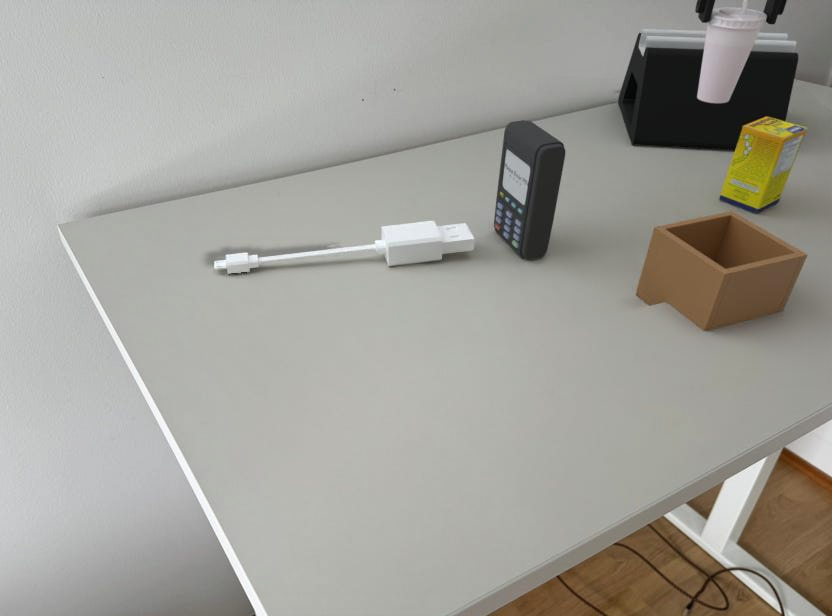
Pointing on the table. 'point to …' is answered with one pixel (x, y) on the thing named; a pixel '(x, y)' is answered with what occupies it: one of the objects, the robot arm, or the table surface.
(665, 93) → the device stand
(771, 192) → the supplement box
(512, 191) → the card reader
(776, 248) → the open box
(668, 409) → the table surface
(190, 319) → the table surface
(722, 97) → the smoothie
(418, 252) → the charging cable
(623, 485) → the table surface
